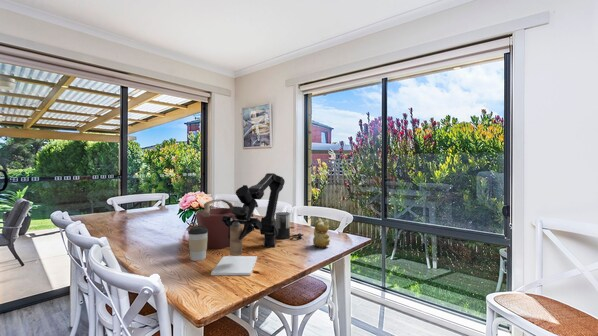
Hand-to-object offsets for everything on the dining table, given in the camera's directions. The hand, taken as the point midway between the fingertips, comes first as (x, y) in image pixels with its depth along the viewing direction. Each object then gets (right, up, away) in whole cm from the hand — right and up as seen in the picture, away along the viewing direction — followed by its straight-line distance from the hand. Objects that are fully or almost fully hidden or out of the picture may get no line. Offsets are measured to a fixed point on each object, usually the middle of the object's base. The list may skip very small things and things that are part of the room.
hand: (234, 238), depth 122 cm
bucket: (-17, -12, +33) cm, 39 cm away
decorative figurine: (+40, -12, +30) cm, 51 cm away
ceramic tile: (0, -12, +1) cm, 12 cm away
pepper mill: (+1, -7, +1) cm, 7 cm away
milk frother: (+22, -12, +48) cm, 54 cm away
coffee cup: (-20, -12, +11) cm, 26 cm away
